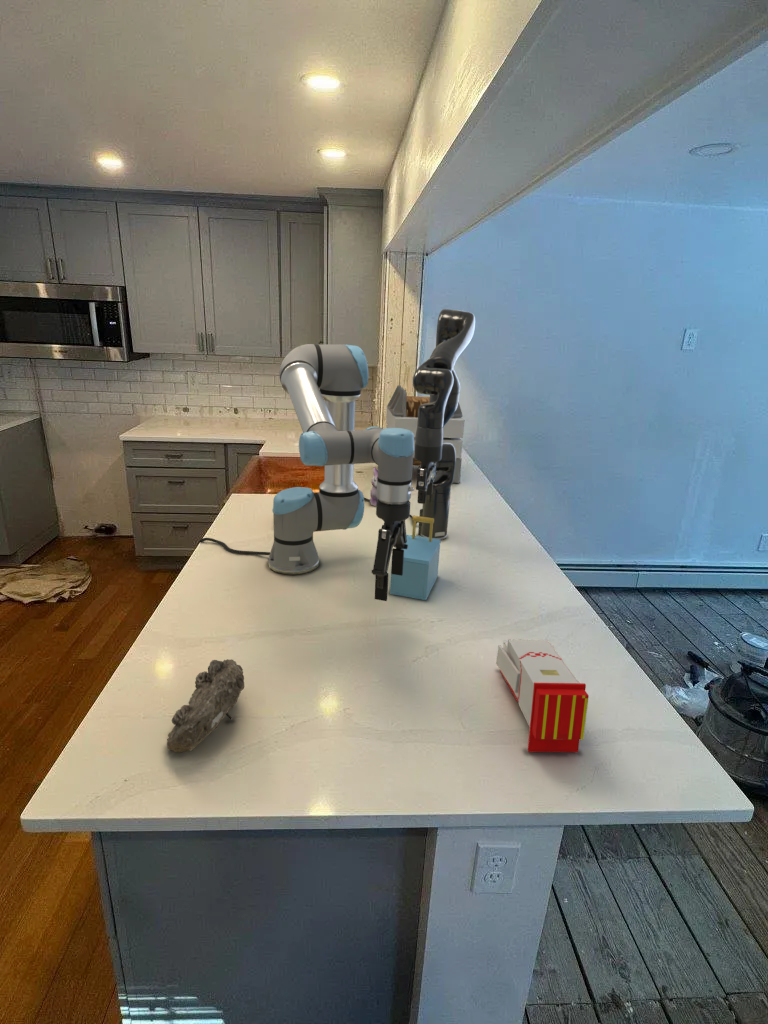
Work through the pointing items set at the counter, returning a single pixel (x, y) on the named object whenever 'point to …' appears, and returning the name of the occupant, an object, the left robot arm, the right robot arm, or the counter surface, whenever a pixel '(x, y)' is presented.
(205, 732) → the fossil
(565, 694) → the toy
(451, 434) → the grey wooden crate
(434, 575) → the chest
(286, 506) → the left robot arm
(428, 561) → the lid
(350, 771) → the counter surface
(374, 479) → the figurine
